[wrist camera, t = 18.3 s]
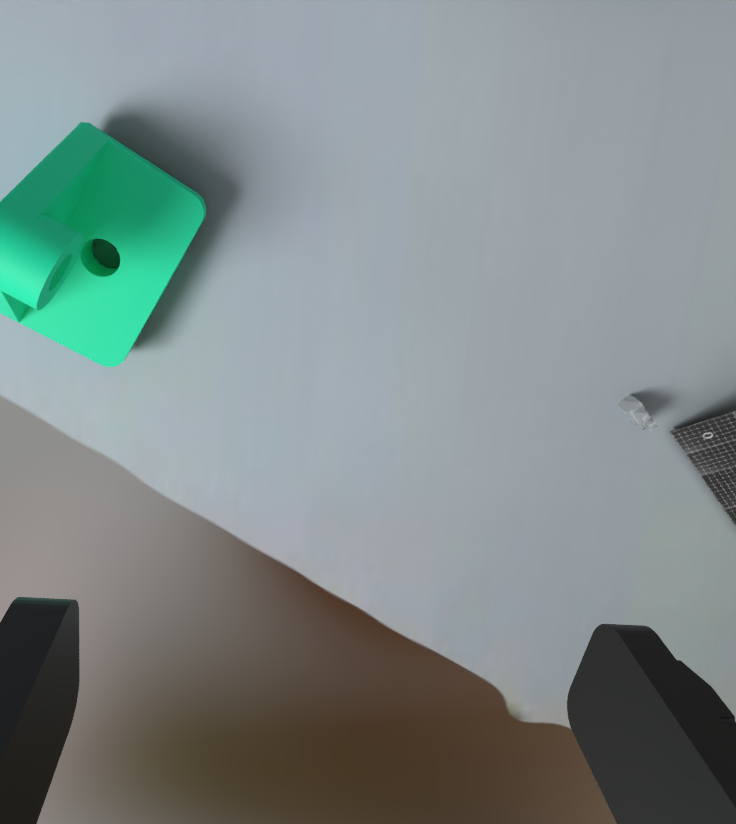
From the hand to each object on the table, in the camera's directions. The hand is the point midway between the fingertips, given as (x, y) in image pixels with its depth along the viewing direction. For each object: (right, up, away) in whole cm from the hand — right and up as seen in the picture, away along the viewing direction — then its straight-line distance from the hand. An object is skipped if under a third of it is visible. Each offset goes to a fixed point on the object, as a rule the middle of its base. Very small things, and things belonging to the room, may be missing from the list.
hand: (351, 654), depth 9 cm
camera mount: (-16, +14, +29) cm, 35 cm away
